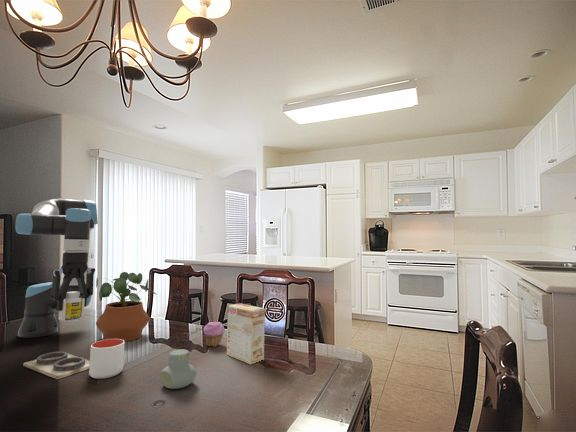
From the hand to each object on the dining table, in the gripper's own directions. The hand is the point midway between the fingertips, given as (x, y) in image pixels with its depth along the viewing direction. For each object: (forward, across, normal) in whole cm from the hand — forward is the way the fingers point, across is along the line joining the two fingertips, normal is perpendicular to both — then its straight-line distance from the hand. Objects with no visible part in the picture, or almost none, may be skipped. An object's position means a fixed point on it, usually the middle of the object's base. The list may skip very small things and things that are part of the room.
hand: (71, 318), depth 112 cm
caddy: (+17, 0, +5) cm, 18 cm away
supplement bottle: (+1, 0, 0) cm, 1 cm away
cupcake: (+17, +45, -26) cm, 55 cm away
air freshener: (+18, +10, -42) cm, 47 cm away
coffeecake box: (+18, +40, -46) cm, 64 cm away
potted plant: (+17, +35, +18) cm, 43 cm away
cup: (+18, +4, -15) cm, 23 cm away
